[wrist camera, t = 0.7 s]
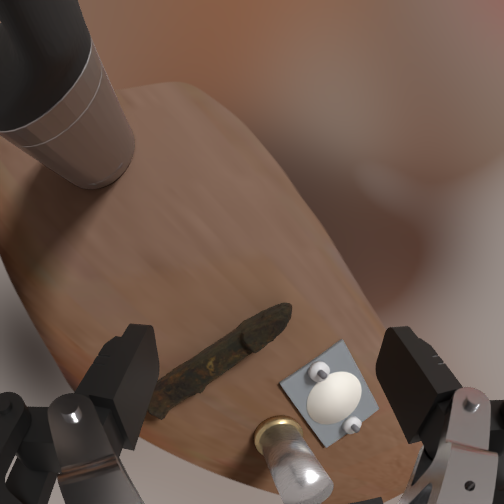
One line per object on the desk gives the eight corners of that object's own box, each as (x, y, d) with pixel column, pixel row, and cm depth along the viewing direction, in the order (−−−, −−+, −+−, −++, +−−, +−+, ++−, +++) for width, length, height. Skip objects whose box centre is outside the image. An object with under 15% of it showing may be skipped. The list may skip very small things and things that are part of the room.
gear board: (279, 382, 33) (285, 391, 30) (341, 339, 34) (351, 344, 32) (325, 446, 34) (332, 455, 31) (377, 407, 35) (387, 414, 33)
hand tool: (161, 409, 30) (157, 429, 26) (139, 383, 30) (132, 400, 26) (297, 321, 34) (312, 330, 29) (279, 293, 33) (292, 298, 29)
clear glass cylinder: (244, 432, 32) (265, 495, 20) (286, 407, 33) (323, 462, 21) (268, 459, 32) (295, 519, 20) (307, 436, 33) (346, 490, 21)
